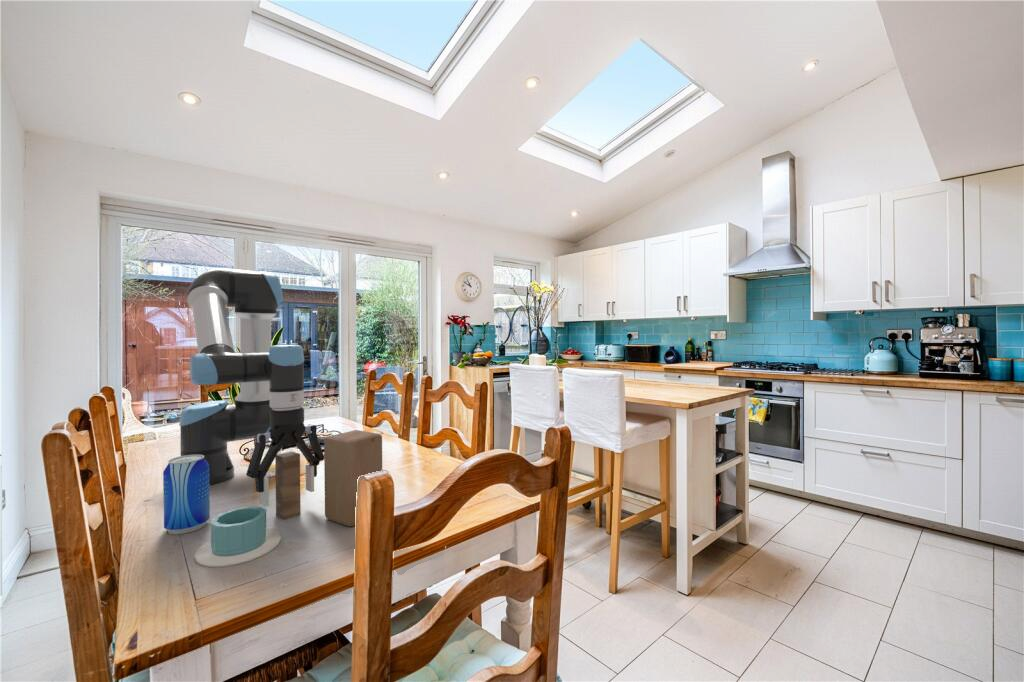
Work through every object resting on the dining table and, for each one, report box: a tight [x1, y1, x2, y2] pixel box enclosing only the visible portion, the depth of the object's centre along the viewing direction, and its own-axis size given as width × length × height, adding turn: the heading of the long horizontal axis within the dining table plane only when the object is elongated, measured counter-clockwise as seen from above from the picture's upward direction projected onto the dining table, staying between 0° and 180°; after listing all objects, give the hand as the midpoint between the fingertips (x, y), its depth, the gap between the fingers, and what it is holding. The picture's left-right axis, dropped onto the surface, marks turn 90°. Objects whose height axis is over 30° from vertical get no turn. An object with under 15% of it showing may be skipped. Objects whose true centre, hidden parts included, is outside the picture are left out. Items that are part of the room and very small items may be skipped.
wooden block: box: [323, 429, 383, 527], centre depth 104 cm, size 10×10×20 cm
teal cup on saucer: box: [194, 506, 281, 568], centre depth 89 cm, size 15×15×7 cm
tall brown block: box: [274, 450, 301, 521], centre depth 105 cm, size 4×4×15 cm
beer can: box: [162, 455, 211, 535], centre depth 98 cm, size 8×8×16 cm
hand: (288, 497), depth 105 cm, fingers open, 10 cm apart
